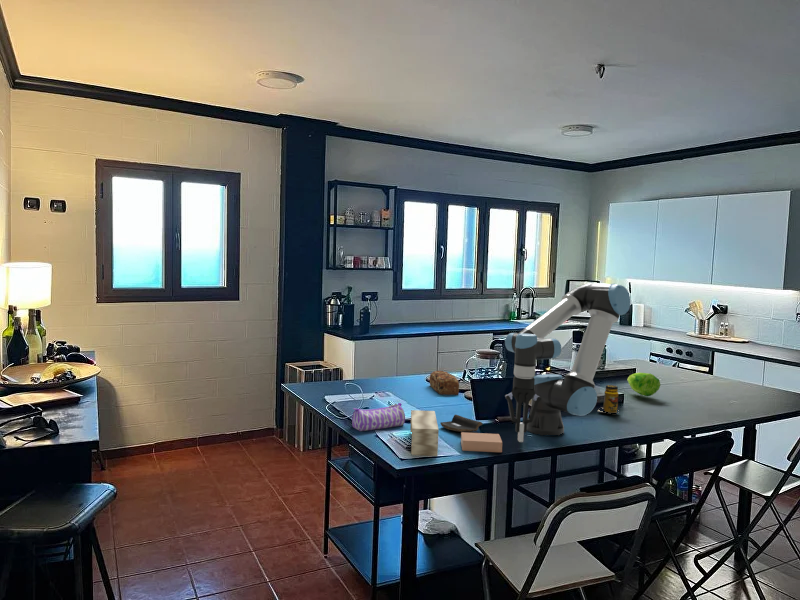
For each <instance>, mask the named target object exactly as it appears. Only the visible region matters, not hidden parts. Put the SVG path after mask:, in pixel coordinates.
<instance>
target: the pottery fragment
mask: <svg viewBox="0 0 800 600" xmlns="http://www.w3.org/2000/svg"><path fill="white" fill-rule="evenodd" d="M440 426H441V427H442V428H444V429H447V430H451V431H455V432H460V433H461V432H466V433H475V432H477V431H478V430H479V427H480V426H483V422H482V421H480V420H475V419H471V418H468V417H464V416H462V415H458V414H454V415H453V417H452V420H450V421H444V422H442V421H441V422H440Z"/></svg>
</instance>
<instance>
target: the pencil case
mask: <svg viewBox="0 0 800 600" xmlns="http://www.w3.org/2000/svg"><path fill="white" fill-rule="evenodd" d="M402 406H403V405H402V402H401V403H400V402H398V403H394V404H392V405H389V406H386V407H385V406H384V407H379V408H372V409H370V408H369V409H361V408H355V407H353V408H352V409H353V410H354V411H353V412H352V414H351V415H352V416H351V423H352V424H351V426H352V428H354V429H355V430H357V431H359V432H366V431H372V430H373V431H374V430H381V429H387V428H388V429H389V428H395V427H401V426H403V425H404V424H405V422H406V414H405V410H404V408H403V407H402Z"/></svg>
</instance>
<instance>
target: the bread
mask: <svg viewBox="0 0 800 600" xmlns="http://www.w3.org/2000/svg"><path fill="white" fill-rule="evenodd" d="M429 374H430V375H429V386H430V387H431V388H432V389H433V390H434V391H435V392H436V393H438V394H439V395H443V396H444V395H446V396H448V395H450V396H451V395H452V396H453V395H459V391H460V383H459V380H458V379H457V377H455V375H453V374H450V373H449V372H448V371H443V370H434V371H432V372H431V373H429Z"/></svg>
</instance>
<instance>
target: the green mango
mask: <svg viewBox="0 0 800 600" xmlns="http://www.w3.org/2000/svg"><path fill="white" fill-rule="evenodd" d="M627 382H628V385H629V386H630V388H631V390H632V391H633V392H635V393H637V394H638V395H641V396H643V395H644V396H645V397H650V396H653V395H654V394H656V393H657V392H658V391H659V390H660V388H661V382H660V379H659V378H657V377H656V376H655V375H654V374H652V373H650V372H649V373H647V372H635V373H632V374H630V375H629V376H628V377H627Z"/></svg>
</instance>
